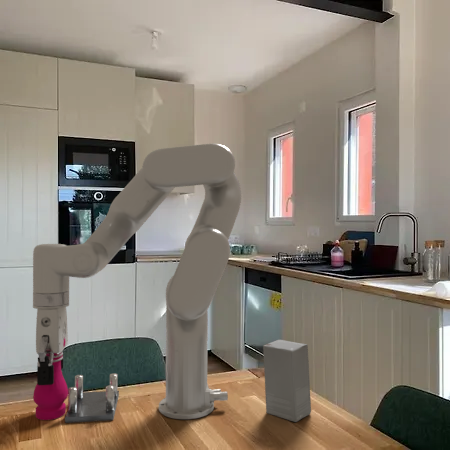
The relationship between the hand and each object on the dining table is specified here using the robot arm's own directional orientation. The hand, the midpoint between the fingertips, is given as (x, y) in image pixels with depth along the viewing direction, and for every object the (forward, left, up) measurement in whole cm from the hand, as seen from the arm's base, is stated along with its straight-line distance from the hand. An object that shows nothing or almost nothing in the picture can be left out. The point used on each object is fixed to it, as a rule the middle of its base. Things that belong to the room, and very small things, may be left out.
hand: (50, 376), depth 100 cm
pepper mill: (0, 0, -8) cm, 8 cm away
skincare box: (-52, +7, -8) cm, 53 cm away
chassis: (-9, -2, -8) cm, 12 cm away
